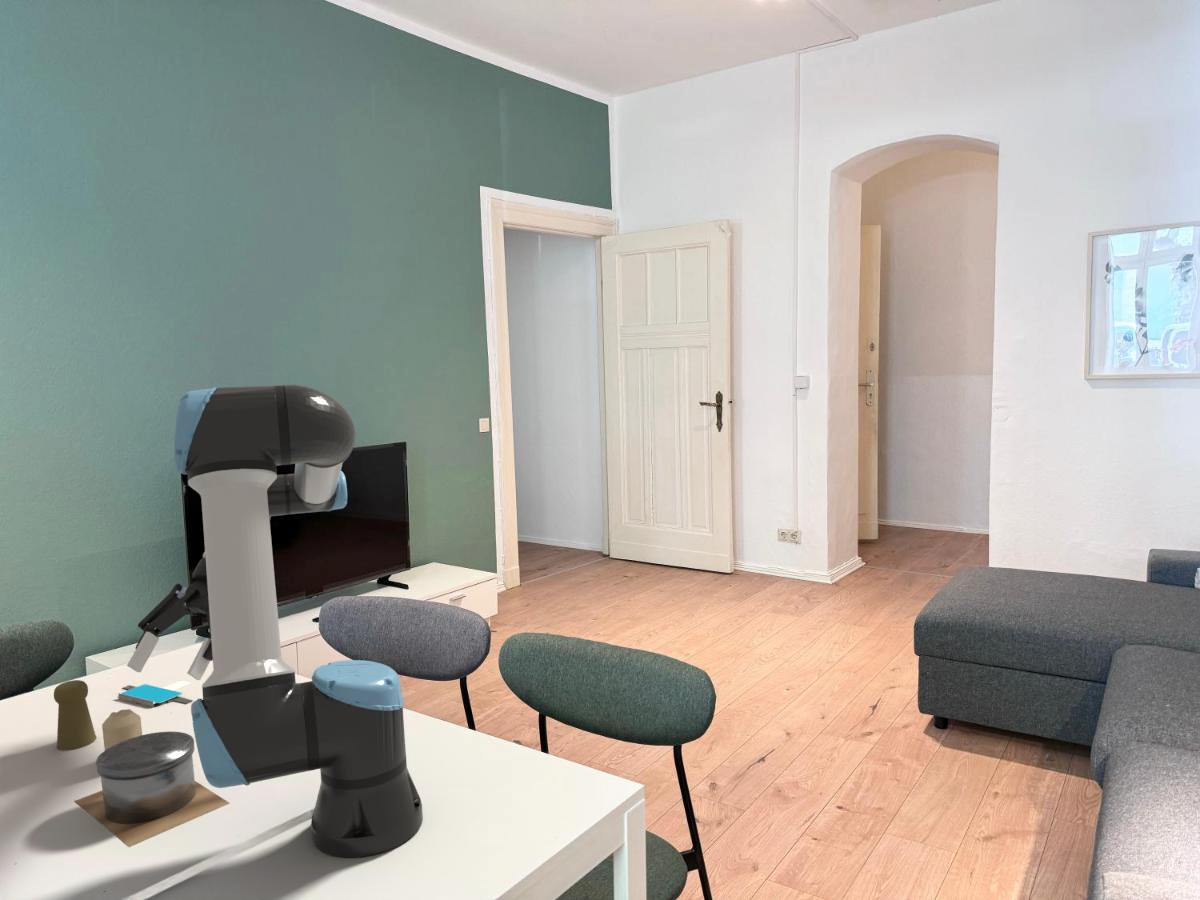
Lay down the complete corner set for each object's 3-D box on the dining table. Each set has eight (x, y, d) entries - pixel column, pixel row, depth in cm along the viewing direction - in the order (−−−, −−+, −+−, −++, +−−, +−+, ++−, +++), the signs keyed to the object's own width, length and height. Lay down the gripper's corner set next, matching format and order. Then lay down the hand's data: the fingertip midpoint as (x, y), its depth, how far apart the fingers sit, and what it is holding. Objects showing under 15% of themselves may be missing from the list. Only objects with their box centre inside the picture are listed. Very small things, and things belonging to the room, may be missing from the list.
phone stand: (219, 692, 175) (218, 684, 175) (165, 715, 165) (165, 707, 164) (155, 678, 184) (155, 670, 184) (101, 699, 174) (100, 691, 174)
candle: (129, 780, 138) (122, 720, 137) (99, 778, 139) (92, 718, 138) (153, 763, 144) (147, 706, 142) (124, 761, 145) (118, 704, 144)
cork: (67, 753, 149) (60, 692, 148) (49, 745, 152) (42, 685, 151) (103, 739, 154) (96, 679, 153) (85, 732, 157) (78, 674, 156)
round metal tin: (214, 797, 129) (209, 746, 128) (123, 835, 119) (117, 780, 118) (175, 772, 137) (171, 724, 136) (87, 806, 127) (81, 755, 126)
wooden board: (230, 812, 127) (229, 802, 127) (130, 857, 117) (129, 846, 116) (170, 773, 140) (169, 764, 140) (75, 810, 129) (74, 800, 129)
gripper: (286, 580, 159) (233, 689, 147) (182, 572, 168) (124, 674, 156) (263, 559, 154) (206, 670, 141) (157, 552, 162) (94, 656, 150)
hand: (163, 673), depth 149 cm, fingers open, 13 cm apart
